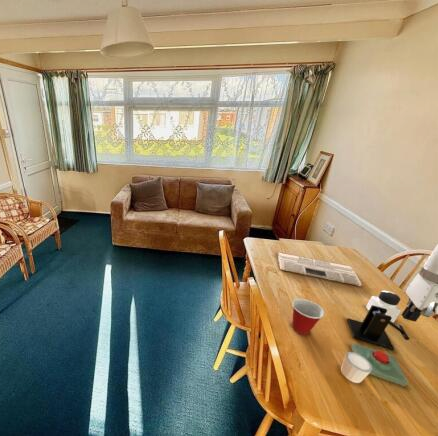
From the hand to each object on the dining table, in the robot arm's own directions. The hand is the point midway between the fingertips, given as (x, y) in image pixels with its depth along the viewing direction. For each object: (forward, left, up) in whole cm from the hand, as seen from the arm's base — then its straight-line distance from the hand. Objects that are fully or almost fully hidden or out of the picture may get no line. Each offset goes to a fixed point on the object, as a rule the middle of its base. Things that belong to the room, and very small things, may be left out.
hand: (408, 318), depth 79 cm
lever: (0, -7, -10) cm, 12 cm away
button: (+5, +8, -14) cm, 17 cm away
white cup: (+14, +16, -18) cm, 28 cm away
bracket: (+3, -7, -18) cm, 19 cm away
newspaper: (+16, -49, -18) cm, 55 cm away
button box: (+5, +8, -18) cm, 20 cm away
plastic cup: (+28, +2, -18) cm, 34 cm away
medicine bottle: (-5, -22, -18) cm, 29 cm away
